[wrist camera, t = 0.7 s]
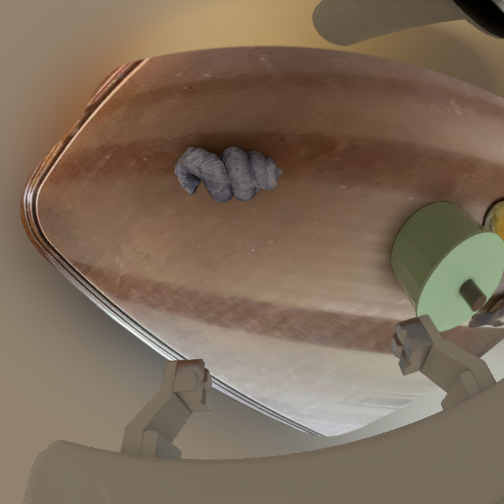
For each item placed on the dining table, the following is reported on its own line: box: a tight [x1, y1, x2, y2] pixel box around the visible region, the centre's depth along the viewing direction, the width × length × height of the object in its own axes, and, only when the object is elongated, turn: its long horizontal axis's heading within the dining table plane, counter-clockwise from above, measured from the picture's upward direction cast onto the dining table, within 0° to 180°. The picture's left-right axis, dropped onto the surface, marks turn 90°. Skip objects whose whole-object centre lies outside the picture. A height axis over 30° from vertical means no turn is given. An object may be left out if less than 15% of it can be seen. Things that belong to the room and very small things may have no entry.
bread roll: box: [484, 201, 504, 242], centre depth 30 cm, size 8×9×4 cm
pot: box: [391, 202, 487, 311], centre depth 30 cm, size 14×14×8 cm
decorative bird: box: [469, 299, 504, 327], centre depth 39 cm, size 6×25×5 cm, turn 85°
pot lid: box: [416, 230, 504, 332], centre depth 25 cm, size 15×15×4 cm
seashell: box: [175, 146, 283, 202], centre depth 25 cm, size 5×5×10 cm
